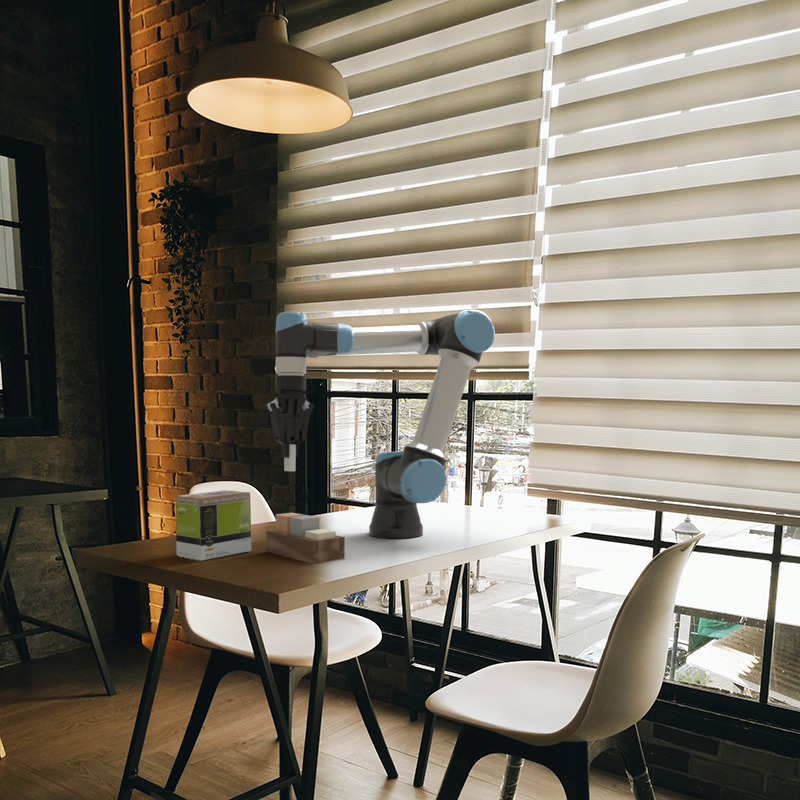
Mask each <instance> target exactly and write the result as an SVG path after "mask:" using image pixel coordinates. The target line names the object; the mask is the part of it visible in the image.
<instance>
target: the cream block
mask: <svg viewBox="0 0 800 800" xmlns="http://www.w3.org/2000/svg"><path fill="white" fill-rule="evenodd" d="M335 535H336V531H335V530H330V529H324V528H319V529H318V530H310V531H305V538H309V539H313V540H324V539H331V538H335Z"/></svg>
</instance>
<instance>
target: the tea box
mask: <svg viewBox="0 0 800 800" xmlns="http://www.w3.org/2000/svg"><path fill="white" fill-rule="evenodd" d="M251 504H252V503H251V492H250V491H238V490H226V489H225V490H224V489H223V490H216V491H205V492H198V493H189V494H182V495H181V494H180V495H176V496H175V517H176V518H175V519H176V520H175V521H176V522H175V523H176V525H175V529H176V530H175V533H176V534H175V540H176V542H175V543H176V544H175V545H176V546H175V547H176V556H177V557H178V556H179V557H180V558H183V557H184V558H183V559H188V558H189V560H193V559H194V561H199V562H201V561H207V560H211V559H216V558H217V559H218V558H222V557H226V556H232V555H238V554H242V553H247V552H251V551H252V516H251V515H252V514H251V512H252V511H251V510H252V509H251V507H252V506H251Z"/></svg>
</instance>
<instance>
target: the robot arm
mask: <svg viewBox="0 0 800 800" xmlns="http://www.w3.org/2000/svg"><path fill="white" fill-rule="evenodd" d="M307 318H308V317H307V314H306V313H304V312H299V311H283V312H280V313H278V314H277V316H276V318H275V319H276V320H275V332H274V333H275V374H277V375H276V376H275V381H274V382H275V383H274V384H275V385H274V388H275V396H274V399H273V400H272V401H271V402H267V403H265V406H266V409H267V411H268V413H269V416H270V418H269V419H270V422H271V426H272V427H271V428H272V433H273V436H274V437H273V438H274V441H275V442H277V443H279V444H280V445H281V457H282V458H284V459H283V460H284V461H283V465H284V466H283V468H284V469H283V471H284V472H296V469H297V467H296V464H297V463H296V461H297V460H296V458H298V456H299V445H301V443H302V442H305V441H306V436H307V432H308V429H309V424H310V419H311V413H312V412H313V409H314V408H315V404H314V403H310V402H309V401H308V400H307V396H306V394H305V392H306V390H307V378H306V374H307V358H311V359H312V358H318V357H332V356H351V355H371V354H390V353H391V354H392V353H407V352H408V353H412V352H416V353H417V354H418V355H419V356H422V355H424V356H425V355H426V356H427V355H431V356H432V355H436V356H439V358H440V361H439V363H438V367H437V370H436V372H435V376H434V378H433V381H432V385H431V388H430V391H429V392H428V395H427V399H426V402H425V405H424V408H423V411H422V412H421V413H422V414H421V415H420V416H421V417H420V420H419V423H418V425H417V428H416V431H415V434H414V437H413V438H412V441H411V442H409V443H408V444H406V445H405V446H404V449H403V450H400V451H398V450H397V451H385V452H380V453H378V454H377V455H376V457H375V464H374V468H375V469H374V472H375V494H374V495H375V497H374V498H375V507H374V510H373V514H372V518H371V521H370V524H369V526H368V533H369V536H371V537H375V538H383V539H384V538H385V539H410V538H416V537H420V536H422V535H424V533H423V532H424V525H423V524H422V522H421V517H420V514H419V510H418V507H417V506H418V504H428V503H431V502H434V501H435V500H437V499H438V498H439V497H440V496H441V495H442V493H443V492H444V490H445V488H446V485H447V474H446V472H445V471H446V470H445V465H446V462H447V457H446V456H445V452H444V450H445V447H446V444H447V441H448V439H449V435H450V432H451V429H452V427H453V425H454V424H453V423H454V420H455V418H456V415H457V412H458V408H459V405H460V403H461V399H462V396H463V394H464V391H465V388H466V386H467V381H468V380H469V379H468V378H469V376H470V373H471V371H472V369H474V368H476V367H478V366H479V363H480V361H481V359H482V355H483V353H484V352H486V351H488V349H490V348H491V346H493V343H494V341H495V337H496V336H495V335H496V331H495V327H494V324H493V322H492V319H491V318H490V317H489V316H488V315H487V314H486V313H485V312H483V311H481V310H478V309H464V310H462V311H460V312H457V313H452V314H448V315H445V316H443V317H442V316H441V317H439V318H436V319H430V320H421V321H417V322H416V323H415V324H411V325H409V324H408V325H407V324H405V325H386V326H385V325H382V326H381V325H378V326H356V327H355V326H353V327H352V326H351V325H349V324H345V323H340V322H338V323H335V322H333V323H332V322H331V323H330V322H313V321H308V319H307Z"/></svg>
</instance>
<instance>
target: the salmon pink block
mask: <svg viewBox="0 0 800 800" xmlns="http://www.w3.org/2000/svg"><path fill="white" fill-rule="evenodd" d="M296 516H305V514H301V513H298V512H297V513H295V512H287V513H286V512H285V513H277V514H275V523H274V524H275V529H274V530H275V531H277V532H281V533H286V534H288V533H290V517H296Z"/></svg>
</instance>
